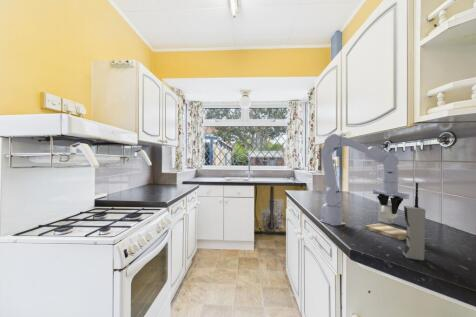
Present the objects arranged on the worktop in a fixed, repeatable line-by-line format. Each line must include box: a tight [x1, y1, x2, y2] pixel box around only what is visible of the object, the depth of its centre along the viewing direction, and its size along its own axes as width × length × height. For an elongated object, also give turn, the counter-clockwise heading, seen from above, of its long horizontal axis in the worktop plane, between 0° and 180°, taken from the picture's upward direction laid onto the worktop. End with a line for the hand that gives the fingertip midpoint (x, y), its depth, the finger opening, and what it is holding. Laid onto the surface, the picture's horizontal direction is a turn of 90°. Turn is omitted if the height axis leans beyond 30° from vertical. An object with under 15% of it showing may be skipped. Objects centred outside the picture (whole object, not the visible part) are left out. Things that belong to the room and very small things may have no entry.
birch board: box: [364, 222, 407, 241], centre depth 104 cm, size 16×10×2 cm, turn 24°
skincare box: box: [377, 198, 395, 225], centre depth 121 cm, size 6×4×12 cm
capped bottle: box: [378, 205, 399, 219], centre depth 103 cm, size 4×10×5 cm, turn 115°
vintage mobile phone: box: [402, 182, 426, 261], centre depth 78 cm, size 4×5×25 cm
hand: (389, 212), depth 104 cm, fingers closed on capped bottle, 4 cm apart
